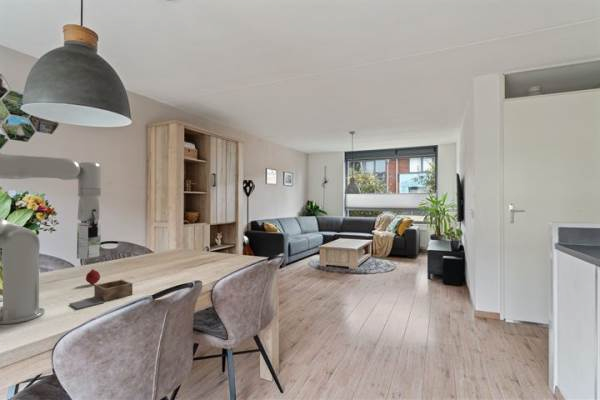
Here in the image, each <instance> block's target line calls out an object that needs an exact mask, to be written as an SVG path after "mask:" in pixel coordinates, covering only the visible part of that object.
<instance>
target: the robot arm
mask: <svg viewBox="0 0 600 400" xmlns="http://www.w3.org/2000/svg"><path fill="white" fill-rule="evenodd" d="M101 168H102V167H101V165H100V164H99V163H96V162H87V161H86V162H80V163H78V162H77V161H76V160H73V159H71V158H61V157H49V156H33V155H31V156H30V155H20V154H19V155H17V154H5V153H4V154H2V153H0V179H2V180H3V179H7V180H8V179H9V180H23V179H24V180H25V179H33V178H35V179H36V178H41V179H46V178H47V179H49V178H50V179H59V180H61V181H62V180H63V181H69V180H70V181H71V180H77V197H79V199H78V207H77V220H78V221H80V223H85V222H88V223H89V228H88V237H89V238H92V237H98V222H99V220H100V216H101V215H100V214H101V213H100V209H101V208H100V198H99V197H101V196H102V194H101V188H102V187H101V183H102V181H101V180H102V179H101V177H102V175H101V174H102V169H101ZM91 222H92V223H91ZM0 248H1V252H2V254H1V255H2V257H1V260H2V265H1V266H2V270H1V271H2V306H0V325H9V324H11V325H12V324H17V323H18V324H19V323H22V322H29V321H31V320H34V319H36V318H39V317H41V316H43V315H44V314H45V309H44V308H43V307H40V239H39V237H38V235H37V233H36V232H34V231H33V230H32V229H30V228H27V227H25V226H22V225H19V224H17V223H14V222H12V221H10V220H7V219H5V218H2V217H0Z"/></svg>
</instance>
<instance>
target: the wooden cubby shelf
mask: <svg viewBox="0 0 600 400" xmlns="http://www.w3.org/2000/svg"><path fill="white" fill-rule="evenodd" d="M93 286H94V287H93V288H94V289H93V290H94V295H93V298H97V299H99V300H101V301H103V302H104V303H105V302H109V301H112V300H116V299H122V298H126V297H129V296H133V283H132V282H129V281H127V280H123V279H118V280H112V281H107V282H103V283H98V284H97V283H96V284H94V285H93Z"/></svg>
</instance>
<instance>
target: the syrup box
mask: <svg viewBox="0 0 600 400" xmlns="http://www.w3.org/2000/svg"><path fill="white" fill-rule="evenodd" d="M91 223H92V222H91ZM76 227H77V230H76V231H77V235H76V237H77V238H76V239H77V240H76V259H78V260H79V259H80V260H89V259H90V260H91V259H94V258H95V259H96V258H99V257H101V246H102V245H101V244H102V243H101V241H102V239H101V237H102V236H101V235H102V223H101V222H99V221H98V237H92V238H89V237H88V228H89V223H88V221H87V222H85V223H81V222H77V226H76Z"/></svg>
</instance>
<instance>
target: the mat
mask: <svg viewBox="0 0 600 400" xmlns="http://www.w3.org/2000/svg"><path fill="white" fill-rule="evenodd" d="M104 303H105V302H104V301H102V300H100V299H98V298H96V297H92V298H87V299H83V300H80V301H79V300H78V301H75V302H70V303H69V306H70V307H72V308H73V309H75V310H77V311H78V310H82V309H86V308H90V307H94V306H98V305H103V304H104Z"/></svg>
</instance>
